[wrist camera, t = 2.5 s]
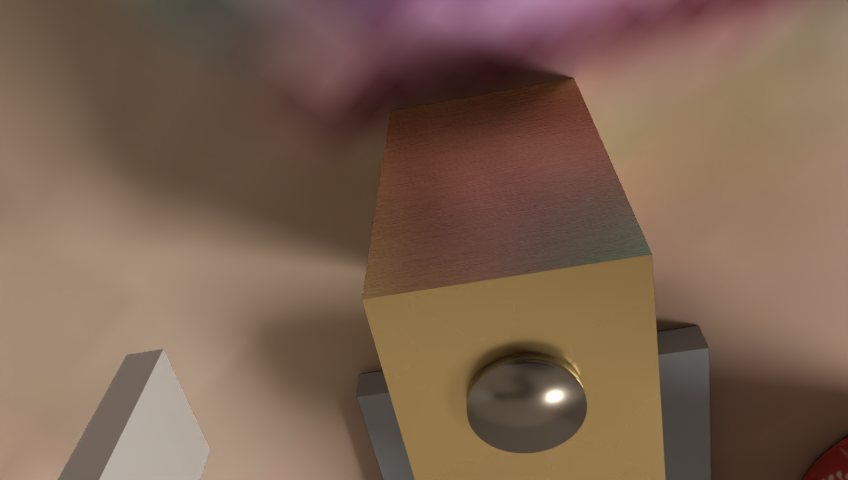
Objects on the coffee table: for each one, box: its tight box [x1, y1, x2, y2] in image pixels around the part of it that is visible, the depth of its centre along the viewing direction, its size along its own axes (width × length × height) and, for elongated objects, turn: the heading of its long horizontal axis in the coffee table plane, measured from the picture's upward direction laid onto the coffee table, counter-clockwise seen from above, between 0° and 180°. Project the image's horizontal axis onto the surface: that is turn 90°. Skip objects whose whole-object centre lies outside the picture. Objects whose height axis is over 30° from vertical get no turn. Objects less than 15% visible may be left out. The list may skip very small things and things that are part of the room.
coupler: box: [362, 78, 666, 480], centre depth 16 cm, size 5×4×8 cm
